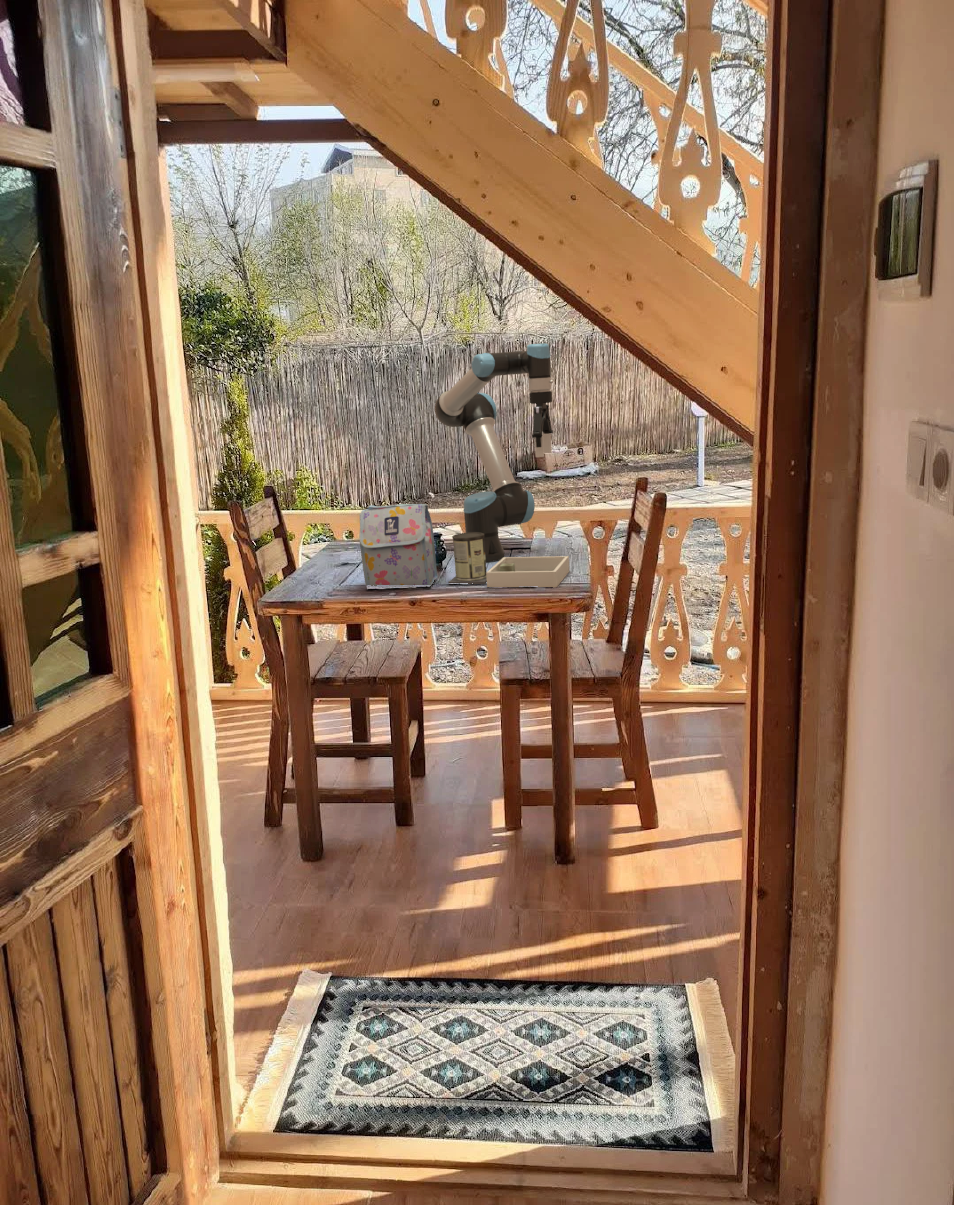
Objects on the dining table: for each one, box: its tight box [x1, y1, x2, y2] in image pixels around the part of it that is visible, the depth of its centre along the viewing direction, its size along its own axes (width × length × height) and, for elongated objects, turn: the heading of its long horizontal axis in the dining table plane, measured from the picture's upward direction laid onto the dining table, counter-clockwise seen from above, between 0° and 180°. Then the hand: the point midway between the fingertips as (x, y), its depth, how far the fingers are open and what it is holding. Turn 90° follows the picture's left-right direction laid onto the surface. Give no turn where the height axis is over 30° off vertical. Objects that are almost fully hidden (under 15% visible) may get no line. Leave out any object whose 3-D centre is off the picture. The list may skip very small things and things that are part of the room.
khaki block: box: [500, 563, 515, 572], centre depth 333 cm, size 4×4×5 cm
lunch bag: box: [359, 503, 439, 586], centre depth 332 cm, size 22×17×26 cm
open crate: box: [486, 555, 570, 589], centre depth 331 cm, size 22×24×5 cm
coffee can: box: [451, 532, 487, 581], centre depth 334 cm, size 10×10×14 cm
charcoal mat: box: [448, 575, 487, 585], centre depth 336 cm, size 12×12×1 cm
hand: (543, 455), depth 350 cm, fingers open, 13 cm apart
